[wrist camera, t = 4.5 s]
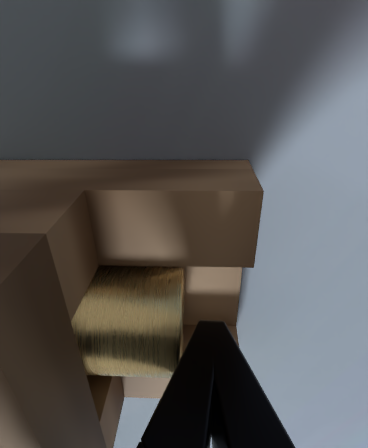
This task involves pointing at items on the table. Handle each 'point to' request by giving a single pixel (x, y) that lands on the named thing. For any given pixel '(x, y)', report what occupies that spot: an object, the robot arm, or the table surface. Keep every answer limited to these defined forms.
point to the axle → (131, 322)
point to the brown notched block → (106, 256)
